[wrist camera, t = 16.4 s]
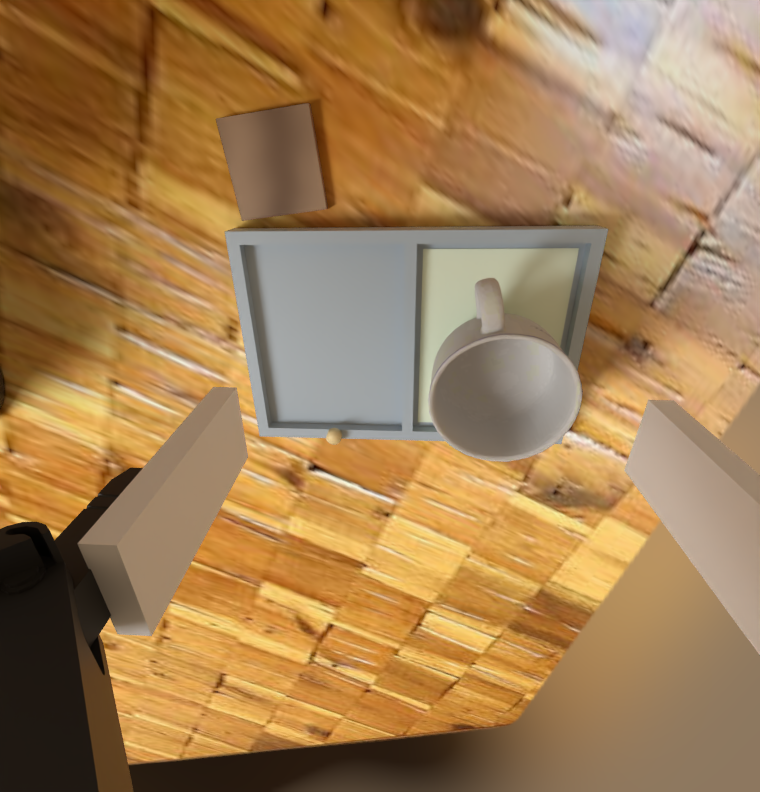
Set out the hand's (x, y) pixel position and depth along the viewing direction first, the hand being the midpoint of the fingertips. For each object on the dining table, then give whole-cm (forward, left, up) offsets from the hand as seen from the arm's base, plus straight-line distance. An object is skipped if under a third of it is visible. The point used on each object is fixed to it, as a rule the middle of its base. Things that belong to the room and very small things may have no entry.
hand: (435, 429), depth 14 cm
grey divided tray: (-1, -6, -25) cm, 26 cm away
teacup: (+6, -6, -24) cm, 25 cm away
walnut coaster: (-12, +8, -26) cm, 29 cm away
